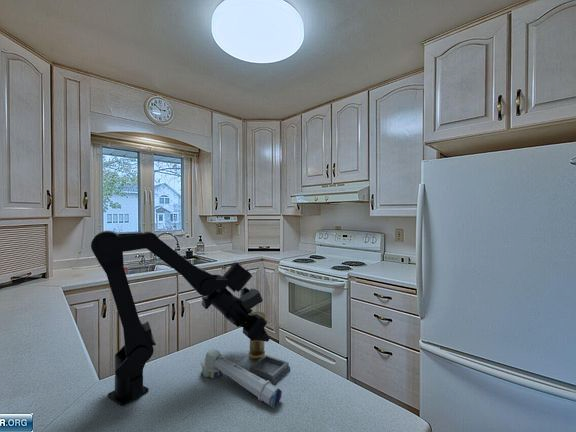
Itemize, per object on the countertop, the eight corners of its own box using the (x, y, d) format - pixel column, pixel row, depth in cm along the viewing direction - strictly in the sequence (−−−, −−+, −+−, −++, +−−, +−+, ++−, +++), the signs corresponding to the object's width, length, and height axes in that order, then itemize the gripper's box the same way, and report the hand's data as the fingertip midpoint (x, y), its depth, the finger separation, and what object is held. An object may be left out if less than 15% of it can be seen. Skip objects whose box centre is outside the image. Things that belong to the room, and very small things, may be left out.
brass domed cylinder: (245, 358, 84) (246, 315, 84) (255, 351, 88) (256, 310, 88) (258, 362, 81) (259, 318, 81) (267, 355, 85) (268, 313, 85)
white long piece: (270, 395, 61) (199, 347, 75) (266, 424, 61) (196, 371, 75) (284, 384, 65) (214, 340, 79) (280, 410, 65) (211, 363, 79)
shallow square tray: (247, 375, 75) (247, 367, 75) (265, 361, 82) (265, 354, 82) (273, 385, 70) (273, 376, 70) (289, 370, 77) (290, 362, 77)
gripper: (261, 289, 75) (294, 322, 81) (234, 276, 90) (263, 304, 96) (232, 324, 70) (269, 356, 76) (209, 304, 86) (242, 332, 92)
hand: (261, 334), depth 85 cm, fingers open, 9 cm apart
